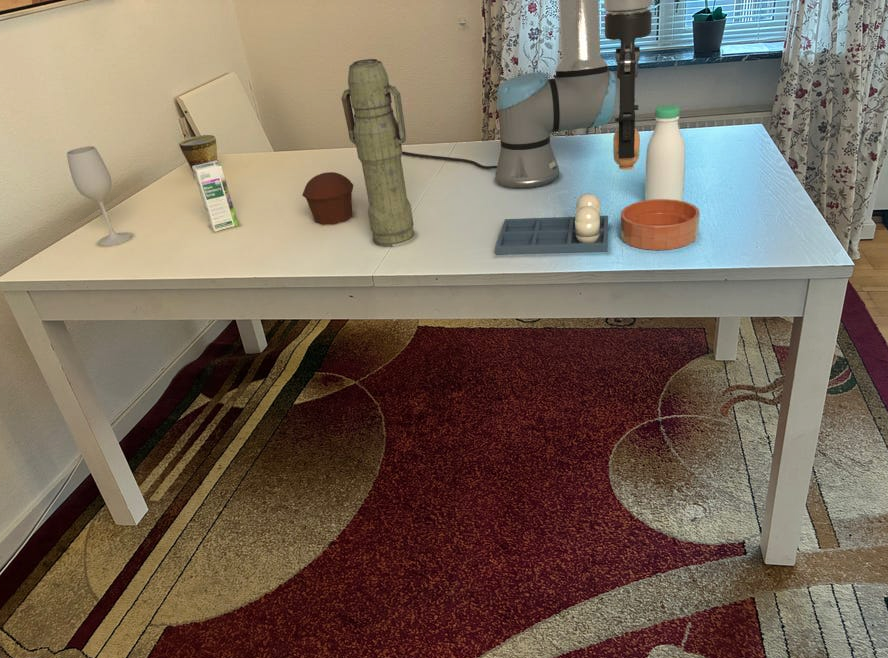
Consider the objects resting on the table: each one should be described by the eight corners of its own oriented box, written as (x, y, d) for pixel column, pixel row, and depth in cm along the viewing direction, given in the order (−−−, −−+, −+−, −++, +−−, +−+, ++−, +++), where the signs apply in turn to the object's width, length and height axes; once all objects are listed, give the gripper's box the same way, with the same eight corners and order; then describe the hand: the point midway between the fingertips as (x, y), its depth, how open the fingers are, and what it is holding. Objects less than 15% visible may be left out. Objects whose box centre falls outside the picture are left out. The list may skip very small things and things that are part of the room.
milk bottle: (683, 211, 150) (689, 111, 139) (644, 212, 152) (647, 113, 141) (681, 198, 156) (687, 101, 146) (644, 199, 158) (647, 103, 147)
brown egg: (608, 167, 134) (608, 125, 130) (629, 162, 136) (630, 120, 132) (622, 173, 131) (623, 130, 127) (644, 167, 132) (645, 125, 128)
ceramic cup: (232, 170, 210) (222, 135, 205) (205, 182, 204) (194, 146, 198) (202, 167, 217) (192, 133, 212) (175, 178, 210) (164, 143, 205)
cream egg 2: (570, 243, 141) (569, 206, 137) (591, 237, 142) (590, 200, 139) (584, 251, 137) (583, 213, 133) (604, 245, 139) (604, 207, 135)
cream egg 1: (572, 230, 147) (571, 193, 143) (592, 224, 148) (591, 188, 144) (585, 237, 143) (584, 200, 139) (605, 231, 144) (605, 194, 140)
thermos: (374, 230, 159) (343, 59, 141) (426, 229, 156) (402, 54, 138) (360, 246, 152) (326, 68, 134) (414, 246, 149) (387, 64, 131)
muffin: (340, 205, 175) (332, 163, 170) (368, 213, 168) (361, 171, 163) (298, 221, 169) (289, 179, 163) (326, 231, 162) (317, 187, 156)
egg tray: (505, 228, 152) (504, 219, 151) (608, 224, 148) (608, 215, 147) (496, 256, 140) (495, 247, 139) (607, 253, 136) (607, 243, 135)
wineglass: (110, 248, 167) (75, 156, 156) (91, 243, 171) (55, 154, 160) (138, 235, 172) (106, 146, 161) (118, 231, 176) (86, 144, 165)
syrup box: (214, 232, 168) (195, 170, 161) (209, 225, 173) (191, 164, 165) (239, 226, 170) (221, 164, 163) (233, 219, 175) (216, 158, 167)
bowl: (606, 235, 144) (606, 210, 141) (665, 217, 148) (666, 193, 145) (651, 259, 132) (652, 233, 130) (713, 239, 137) (715, 213, 134)
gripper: (652, 16, 112) (648, 167, 124) (650, 1, 126) (647, 138, 138) (602, 20, 113) (603, 169, 125) (606, 5, 128) (606, 140, 140)
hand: (626, 152), depth 132 cm, fingers closed on brown egg, 4 cm apart
